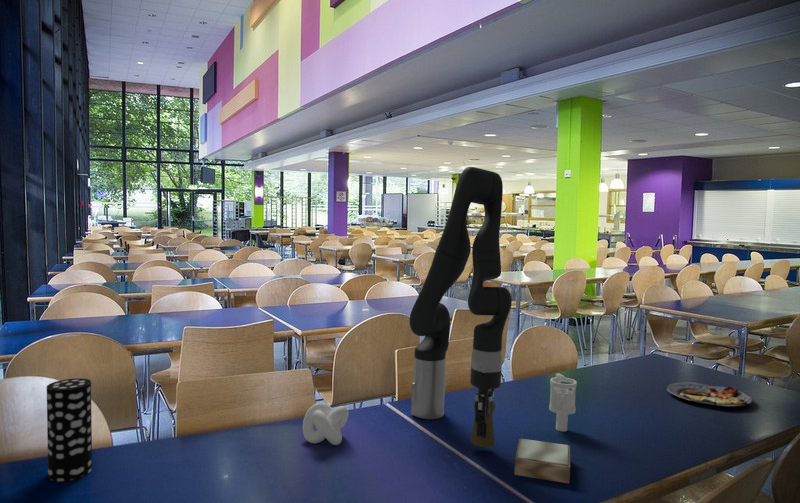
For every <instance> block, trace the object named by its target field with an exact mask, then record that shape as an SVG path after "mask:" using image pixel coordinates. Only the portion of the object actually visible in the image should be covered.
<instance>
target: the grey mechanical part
mask: <svg viewBox="0 0 800 503" xmlns="http://www.w3.org/2000/svg"><path fill="white" fill-rule="evenodd" d="M549 380H550V382H549V384H550V395H549V398H550V399H549V403H548V404H549V408H548V409H549V411H550V412H552V413H554V414H556V417H555V430H556V431H558V432H567V431H568V421H569V419H568V417H569V415H573V414H576V393H577V392H576V389H577V385H578V383H577V382H578V381H577V380H575V379H573V378H569V377H565V376H564V375H563V374H561V373H558V372H557V373H555V376H554V377H551V378H550V379H549ZM562 382H565V383H562ZM570 389H571V390H570Z"/></svg>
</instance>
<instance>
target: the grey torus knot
mask: <svg viewBox="0 0 800 503" xmlns="http://www.w3.org/2000/svg"><path fill="white" fill-rule="evenodd" d="M349 413H350V412H349V410H348V408H347V407H346V406H341V405H340V406H337V407H335V408H334V409H333V408H332V407H331V406H330V405H329V404H328V403H327V402H317V403H314V404H313V405H311V406H310V407H309V408H308V409H307V411H306V413H305V415H304V417H303V421H302V433H303V436H304V438H305V440H306V442H308V443H311V444H318V443H321V442H323V441H324V440H325V439H327V441H328V442H329V443H330V444H331V445H333V446H339V445H340V444H341V443H342V441H343V435H342V431H341V430H342V428H343V427H344V426H345V425H346V423H347V421H348V419H349V415H350V414H349Z"/></svg>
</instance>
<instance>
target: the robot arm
mask: <svg viewBox="0 0 800 503" xmlns="http://www.w3.org/2000/svg"><path fill="white" fill-rule="evenodd" d="M503 194H504V186H503V179H502V177H501V175H500V174H499V173H497V172H495V171H492V170H488V169H484V168H479V167H475V166H467V167H465V168H464V169H463V171H462V172H461V173H460V176H459V178H458V180H457V183H456V187H455V190H454V194H453V197H452V201H451V205H450V210H449V213H448V216H447V219H446V223H445V226H444V228H443V231H442V234H441V237H440V239H439V241H438V244H437V247H436V249H435V251H434V252H435V253H434V255H433V258H432V261H431V265H430V268H429V270H428V272H427V275H426V278H425V280H424V283H423V285H422V287H421V290H420V292H419V294H418V296H417V298H416V300H415V302H414V304H413V306H412V309H411V311H410V315H409V327H410V330H411V332H412V333H413V334H414V335H416V336H418V337H423V340H422V341H421V342H420V343H419V344H417V345H416V346H415V348H414V356H413V357H414V362H413V366H414V367H413V369H414V370H413V382H412V383H411V397H410V398H411V402H410V403H411V408H410V414H411V416H414V417H416V418H418V419H419V418H420V419H424V420H437V419H438V420H439V419H441V418H443V417H444V415H445V395H446V393H445V390H446V354H447V351H448V349H449V344H450V332H451V316H450V312H449V310H448V307H446V305H445V304H444V303H441V300H442V299H443V298H444V296H445V294H446V293H447V292H448V291H449V290H450V288H451V287H452V286H453V285H455V283H456V282H457V280H459V278H460V277H461V275H462V274H463V272H464V271H465V268H466V265H467V263H468V261H469V258H470V255H472V280H471V285H470V289H469V293H468V297H467V307H468V309H469V311H470V312H471V314H473V315H474V316H492V318H491V319H490V321H488V322H484V323H479V324H477V325H475V327H474V329H473V340H472V352H471V358H470V359H471V361H470V362H471V364H470V378H469V379H470V380H469V381H470V384H471V385H472V386H473V387H474V388H477V389H478V390H477V392H476V393H475V401H476V402H475V401H474V402H475V409H474V411H475V412H474V415H475V416H474V419H475V422H477V437H479V436H483V437H484V438H485V437H486V427H487V422H488V420H487V417H488V414H489V413H490V404H491V402H492V401H493V402H494V397H495V392H494V391H495V390H496V389H498V388H500V387H501V385H502V372H503V370H502V366H503V353H502V350H503V348H502V347H503V333H504V329H505V326H506V322H507V319H508V316H509V314H510V312H511V311H510V310H511V308H512V302H513V299H512V295H511V292H510V291H509V289H507V288H506V287H503V286H484V282H486V281H487V282H488V281H492V280H495V279H498V278H499V277H501V275H502V260H501V247H500V230H501V223H502V222H501V220H502V219H501V218H502V211H503V210H502V207H503ZM472 203H473V204H477V205H482V206H483V208H484V218H483V222H482V224H481V226H480V228H479V229H478V231H477V234H476V235H475V237H474V239H473V242H472V245H471V240H470V236H469V235H470V234H469V230H468V226H467V216H468V212H469V209H470V206H471V204H472ZM471 250H472V251H471ZM487 406H488V409H487V410H486V407H487ZM480 416H483V418H480Z"/></svg>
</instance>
